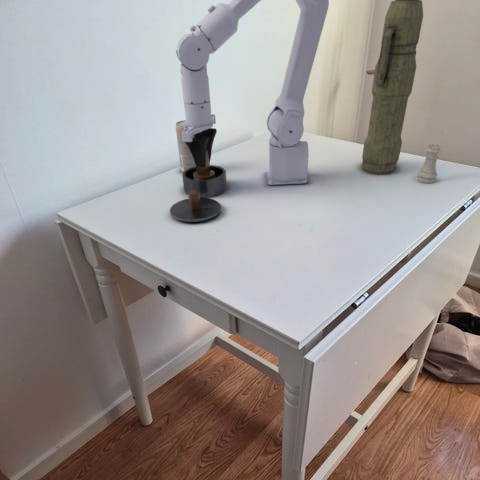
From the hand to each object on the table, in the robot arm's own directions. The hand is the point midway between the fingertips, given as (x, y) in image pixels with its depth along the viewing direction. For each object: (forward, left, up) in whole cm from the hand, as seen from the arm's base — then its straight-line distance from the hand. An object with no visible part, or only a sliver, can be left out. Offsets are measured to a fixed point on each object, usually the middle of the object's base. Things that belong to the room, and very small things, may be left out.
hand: (203, 164), depth 100 cm
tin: (0, 0, -6) cm, 6 cm away
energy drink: (+5, -13, -6) cm, 15 cm away
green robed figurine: (-44, -8, -6) cm, 46 cm away
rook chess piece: (-53, +1, -6) cm, 54 cm away
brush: (0, 0, -5) cm, 5 cm away
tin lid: (+2, +13, -5) cm, 14 cm away
